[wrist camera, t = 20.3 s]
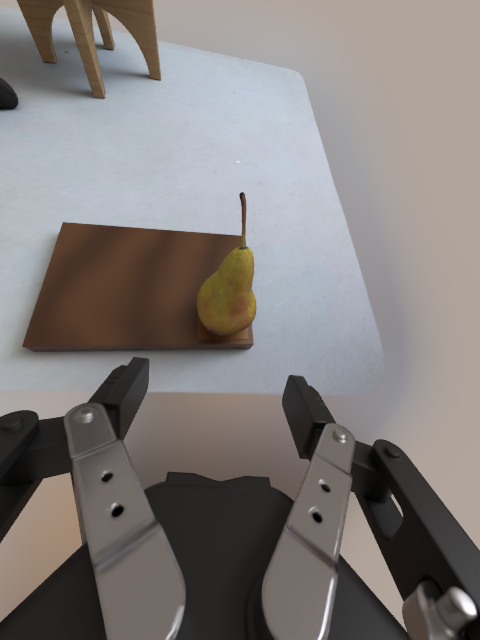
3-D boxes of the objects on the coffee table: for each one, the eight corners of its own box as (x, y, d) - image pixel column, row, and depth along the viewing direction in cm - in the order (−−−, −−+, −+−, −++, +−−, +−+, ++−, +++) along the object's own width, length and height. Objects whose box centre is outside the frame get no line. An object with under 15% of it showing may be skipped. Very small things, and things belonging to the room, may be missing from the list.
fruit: (183, 321, 22) (168, 228, 11) (218, 283, 24) (234, 175, 14) (229, 355, 21) (260, 291, 11) (260, 313, 24) (312, 225, 13)
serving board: (242, 244, 29) (244, 235, 28) (250, 348, 24) (253, 344, 22) (69, 232, 26) (62, 221, 24) (33, 351, 20) (20, 346, 19)
